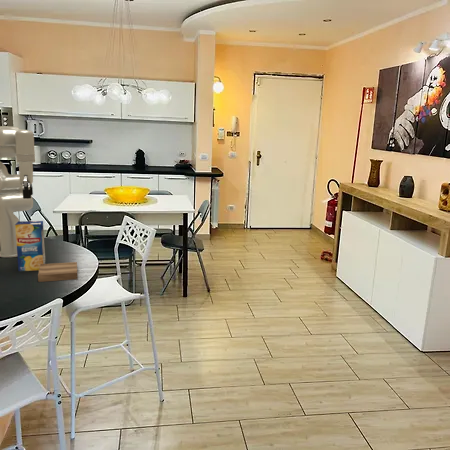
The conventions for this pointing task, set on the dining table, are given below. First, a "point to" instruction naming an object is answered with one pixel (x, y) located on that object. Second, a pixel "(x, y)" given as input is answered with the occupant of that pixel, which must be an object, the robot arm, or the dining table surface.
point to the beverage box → (30, 245)
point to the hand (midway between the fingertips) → (28, 196)
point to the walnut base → (57, 271)
